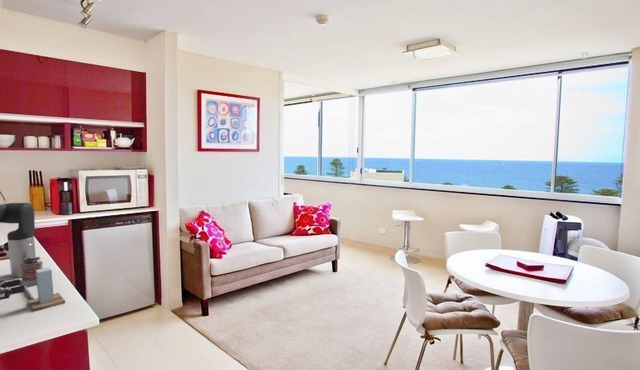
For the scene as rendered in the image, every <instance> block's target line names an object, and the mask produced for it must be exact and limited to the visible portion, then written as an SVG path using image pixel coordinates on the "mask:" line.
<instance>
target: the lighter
mask: <svg viewBox="0 0 640 370" xmlns="http://www.w3.org/2000/svg"><path fill="white" fill-rule="evenodd" d="M23 260H24V263H21V269H22V277H21V280H22V282H24V281H25V282H29V281H34V280H37V278H36V270H39V269H44V268H43V263H44V261H43V260H42V261H41V257H40V256H36V257H34V258H33V257H29V258H24V259H23ZM34 260H35V261H34Z"/></svg>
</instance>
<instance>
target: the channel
mask: <svg viewBox="0 0 640 370" xmlns="http://www.w3.org/2000/svg"><path fill="white" fill-rule="evenodd" d="M28 288H29V287H26V286H25V291H24V292H26V294H27V296H28V295H29V296H28V297H29V299H30V300H32V299H35V298H34V295H33V294H32V293H31V291H30V289H28Z"/></svg>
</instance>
